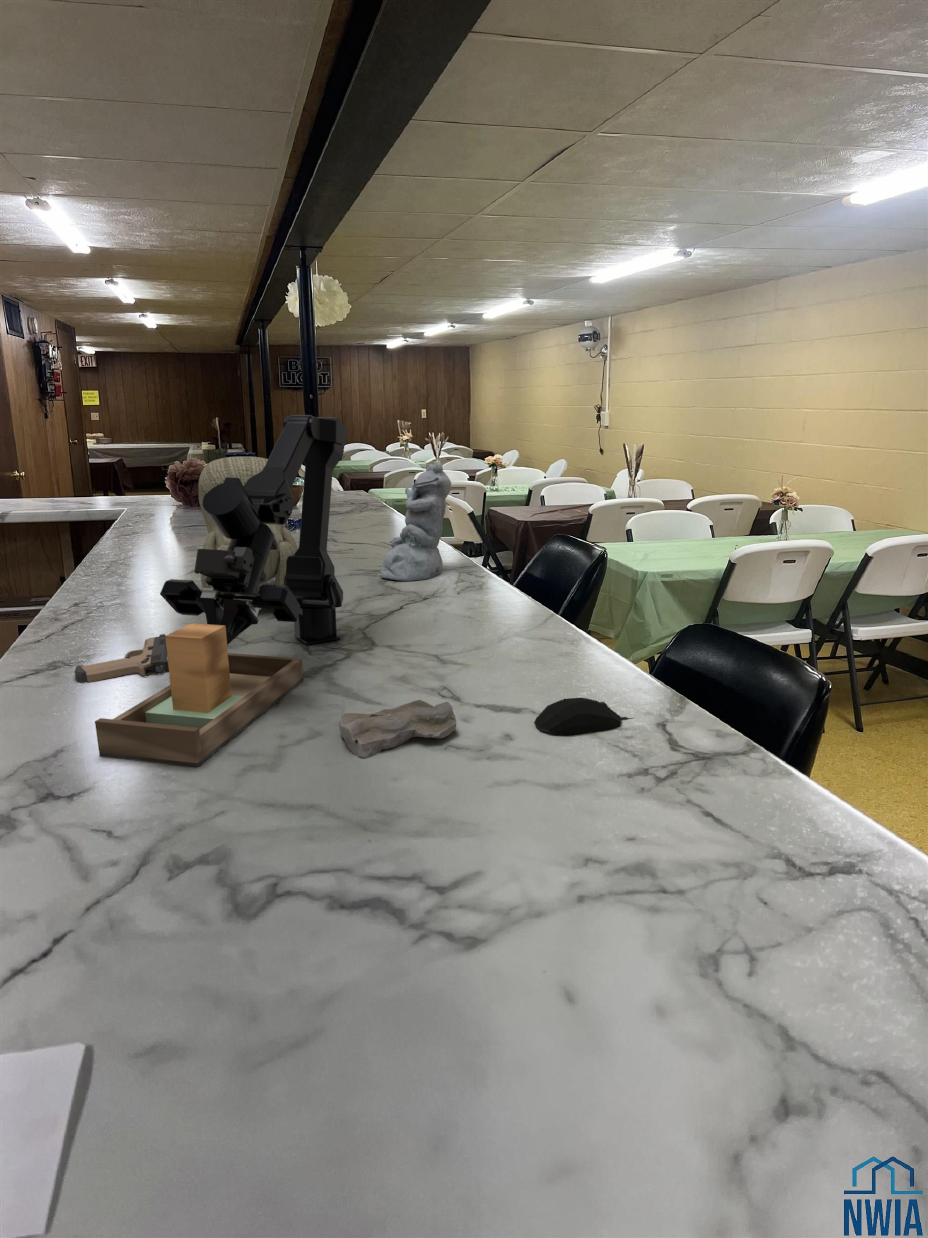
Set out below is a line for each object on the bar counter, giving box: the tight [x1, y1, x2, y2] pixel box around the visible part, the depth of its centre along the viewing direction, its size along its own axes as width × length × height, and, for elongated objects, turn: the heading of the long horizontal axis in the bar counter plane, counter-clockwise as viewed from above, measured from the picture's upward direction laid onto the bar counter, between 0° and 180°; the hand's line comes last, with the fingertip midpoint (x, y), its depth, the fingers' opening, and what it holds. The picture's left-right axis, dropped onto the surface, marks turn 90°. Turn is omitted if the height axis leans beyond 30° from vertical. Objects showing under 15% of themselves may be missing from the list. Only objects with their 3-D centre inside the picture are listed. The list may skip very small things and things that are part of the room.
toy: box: [198, 455, 299, 589], centre depth 161 cm, size 21×30×30 cm
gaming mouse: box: [533, 697, 634, 737], centre depth 102 cm, size 6×15×4 cm, turn 106°
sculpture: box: [379, 461, 452, 582], centre depth 187 cm, size 18×16×30 cm
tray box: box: [94, 652, 304, 768], centre depth 105 cm, size 30×13×4 cm, turn 168°
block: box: [165, 622, 231, 713], centre depth 101 cm, size 6×5×10 cm
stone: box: [338, 699, 457, 759], centre depth 98 cm, size 15×10×4 cm, turn 115°
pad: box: [145, 695, 244, 730], centre depth 102 cm, size 8×11×2 cm
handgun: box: [74, 633, 169, 684], centre depth 127 cm, size 19×3×14 cm
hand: (212, 654), depth 104 cm, fingers closed, pressing on block
